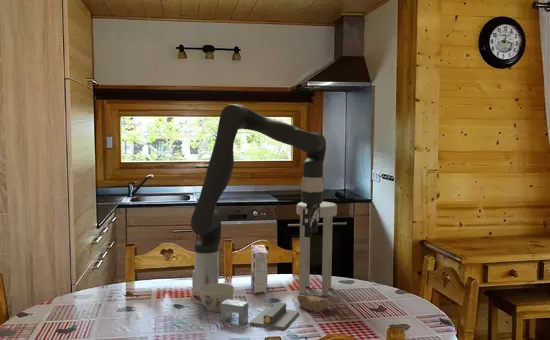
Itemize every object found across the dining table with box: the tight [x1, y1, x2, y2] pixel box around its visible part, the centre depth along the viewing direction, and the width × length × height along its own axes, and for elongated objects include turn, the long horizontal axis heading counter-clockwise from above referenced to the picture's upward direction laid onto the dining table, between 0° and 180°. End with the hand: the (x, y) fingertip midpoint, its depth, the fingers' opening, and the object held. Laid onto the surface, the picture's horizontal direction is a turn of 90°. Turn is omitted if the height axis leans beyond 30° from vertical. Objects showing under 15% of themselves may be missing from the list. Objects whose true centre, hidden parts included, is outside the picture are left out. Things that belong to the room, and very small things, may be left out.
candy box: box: [250, 244, 269, 294], centre depth 217 cm, size 14×6×16 cm, turn 6°
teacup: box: [191, 282, 235, 313], centre depth 192 cm, size 15×12×8 cm
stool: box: [296, 201, 338, 297], centre depth 214 cm, size 16×16×35 cm
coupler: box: [249, 302, 300, 331], centre depth 183 cm, size 12×16×4 cm
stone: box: [297, 294, 330, 313], centre depth 196 cm, size 9×11×5 cm
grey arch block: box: [220, 299, 249, 326], centre depth 181 cm, size 8×4×6 cm, turn 70°
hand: (311, 234), depth 191 cm, fingers open, 8 cm apart
